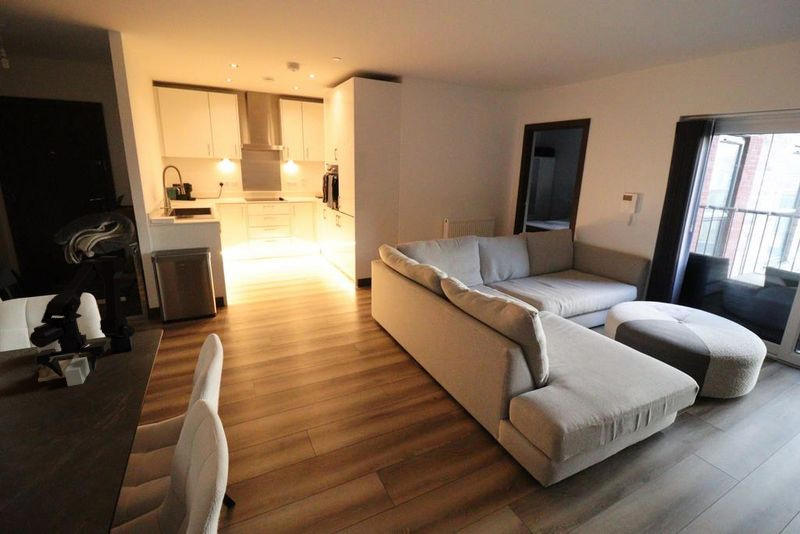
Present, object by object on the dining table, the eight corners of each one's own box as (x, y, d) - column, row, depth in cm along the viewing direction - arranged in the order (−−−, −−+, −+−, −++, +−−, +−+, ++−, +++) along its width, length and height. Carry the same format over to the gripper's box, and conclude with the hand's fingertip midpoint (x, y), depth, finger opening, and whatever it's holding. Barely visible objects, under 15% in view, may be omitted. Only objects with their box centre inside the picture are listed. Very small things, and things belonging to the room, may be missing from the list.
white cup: (44, 353, 150) (38, 330, 147) (68, 349, 153) (63, 327, 150) (35, 362, 143) (29, 339, 140) (61, 358, 146) (55, 335, 144)
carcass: (84, 359, 146) (80, 346, 144) (74, 375, 135) (71, 360, 134) (51, 365, 141) (47, 351, 140) (38, 381, 131) (34, 366, 129)
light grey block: (89, 371, 138) (86, 356, 137) (82, 383, 131) (79, 368, 129) (75, 373, 137) (72, 359, 135) (67, 386, 129) (63, 371, 127)
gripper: (107, 320, 140) (114, 357, 144) (42, 329, 132) (52, 368, 136) (99, 332, 130) (108, 371, 134) (29, 342, 122) (40, 384, 126)
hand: (78, 373), depth 133 cm, fingers open, 9 cm apart
